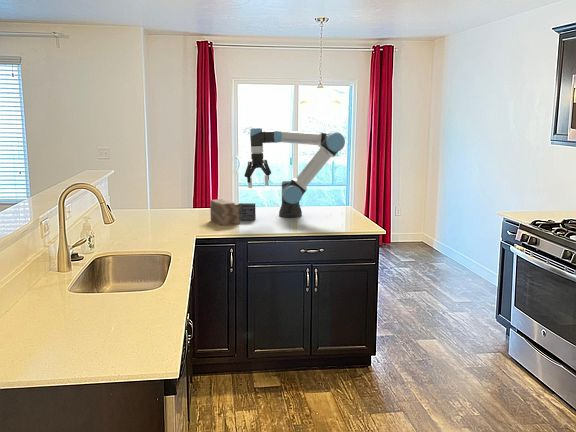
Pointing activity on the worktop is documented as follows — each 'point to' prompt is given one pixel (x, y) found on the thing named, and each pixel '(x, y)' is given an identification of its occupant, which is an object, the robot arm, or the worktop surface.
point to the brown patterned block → (224, 212)
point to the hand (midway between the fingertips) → (258, 186)
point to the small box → (247, 212)
